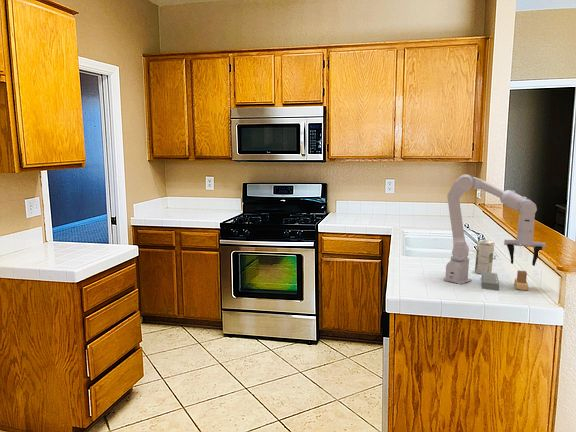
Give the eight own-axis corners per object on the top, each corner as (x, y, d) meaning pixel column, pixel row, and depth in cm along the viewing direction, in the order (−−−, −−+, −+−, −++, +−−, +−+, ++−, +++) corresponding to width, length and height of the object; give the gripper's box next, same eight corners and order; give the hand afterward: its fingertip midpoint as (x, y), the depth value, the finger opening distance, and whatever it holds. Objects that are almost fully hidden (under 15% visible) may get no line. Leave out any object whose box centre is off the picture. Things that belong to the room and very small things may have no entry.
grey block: (481, 288, 185) (482, 282, 184) (481, 277, 201) (481, 271, 201) (498, 290, 182) (499, 283, 182) (496, 279, 199) (497, 273, 199)
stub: (516, 289, 184) (517, 274, 183) (514, 282, 193) (515, 268, 192) (527, 290, 182) (529, 275, 181) (525, 283, 191) (526, 269, 191)
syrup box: (478, 270, 214) (480, 239, 212) (492, 273, 210) (494, 241, 208) (474, 273, 209) (476, 241, 207) (488, 275, 206) (490, 242, 204)
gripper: (506, 230, 184) (503, 264, 185) (547, 233, 178) (544, 268, 180) (505, 228, 190) (502, 260, 192) (545, 230, 185) (542, 264, 187)
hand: (522, 264), depth 186 cm, fingers open, 7 cm apart
